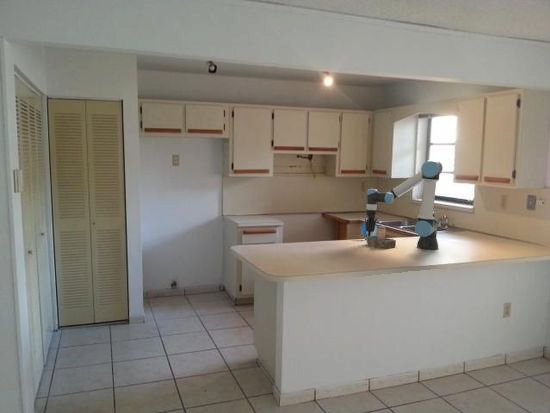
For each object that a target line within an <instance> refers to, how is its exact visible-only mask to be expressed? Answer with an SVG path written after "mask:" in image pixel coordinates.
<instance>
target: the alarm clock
mask: <svg viewBox="0 0 550 413" xmlns="http://www.w3.org/2000/svg"><path fill="white" fill-rule="evenodd" d="M378 226H379V225H378V224H377V221H376V224H375V230H374V232H372V236H373V235H378ZM360 230H361V234H362V235H363V236H364V237H365V238H367V237H368V232H367V231H366V223H365V220H364V221H363V224H362V226H361V229H360Z"/></svg>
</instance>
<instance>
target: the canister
mask: <svg viewBox="0 0 550 413" xmlns="http://www.w3.org/2000/svg"><path fill="white" fill-rule="evenodd" d="M377 226H378V234H377V240H383V241H385V238H386V226H383V225H380V226H379V225H377Z"/></svg>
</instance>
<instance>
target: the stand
mask: <svg viewBox="0 0 550 413" xmlns="http://www.w3.org/2000/svg"><path fill="white" fill-rule="evenodd" d="M396 243H397V240H396V239H394V240H393V241H388V242H382V241H377V240H371V239H368V243H367V247H373V248H378V249H383V250H387V249H388V250H389V249H392V248H396V247H397V246H396V245H397V244H396Z"/></svg>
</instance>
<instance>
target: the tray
mask: <svg viewBox="0 0 550 413" xmlns="http://www.w3.org/2000/svg"><path fill="white" fill-rule="evenodd" d="M377 235H378V234H377ZM377 235H373V236H368V237H366V241H365V242H366V243H368V239H371V240H377ZM393 240H395V239H394V238H389V237H385V241H383V240H377V241H382V242H388V241H393Z"/></svg>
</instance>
